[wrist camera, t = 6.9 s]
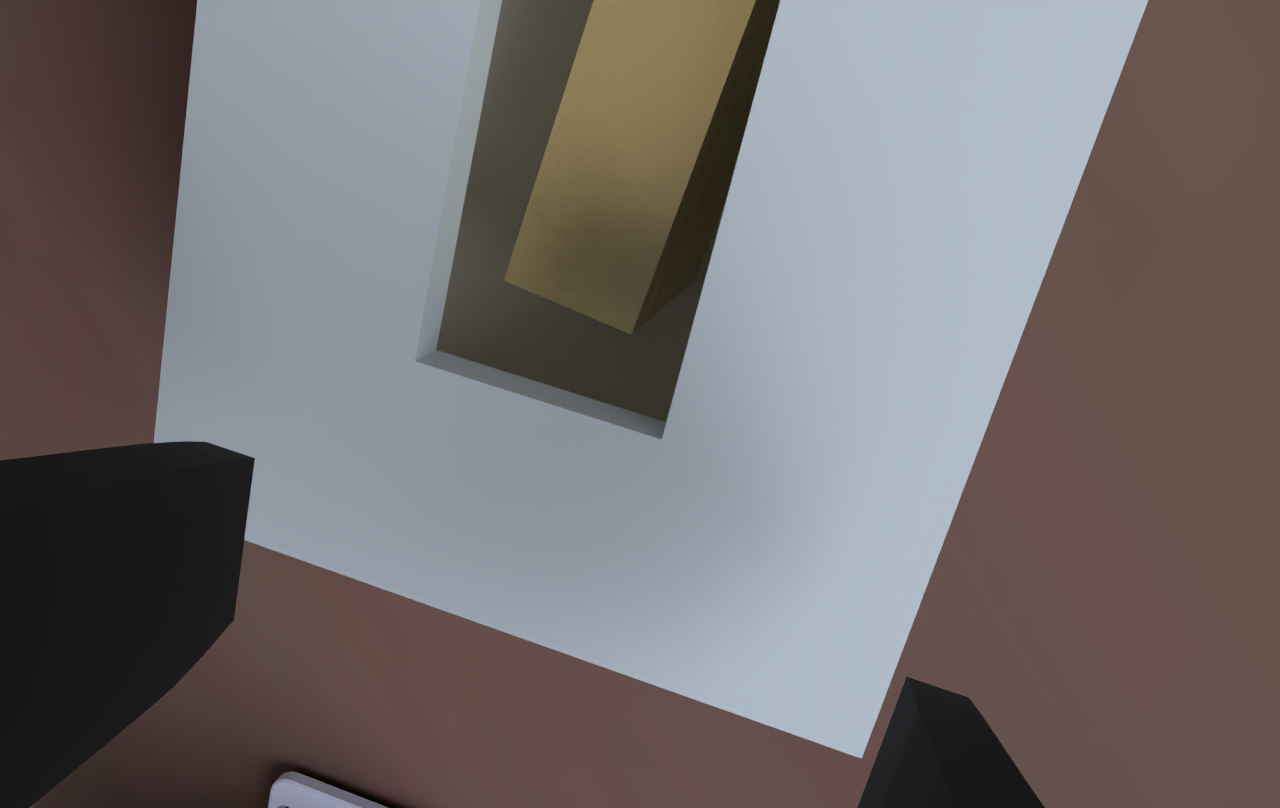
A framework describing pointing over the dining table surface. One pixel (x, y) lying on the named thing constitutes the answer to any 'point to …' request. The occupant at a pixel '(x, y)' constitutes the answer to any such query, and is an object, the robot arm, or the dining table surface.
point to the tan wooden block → (641, 154)
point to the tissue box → (610, 358)
